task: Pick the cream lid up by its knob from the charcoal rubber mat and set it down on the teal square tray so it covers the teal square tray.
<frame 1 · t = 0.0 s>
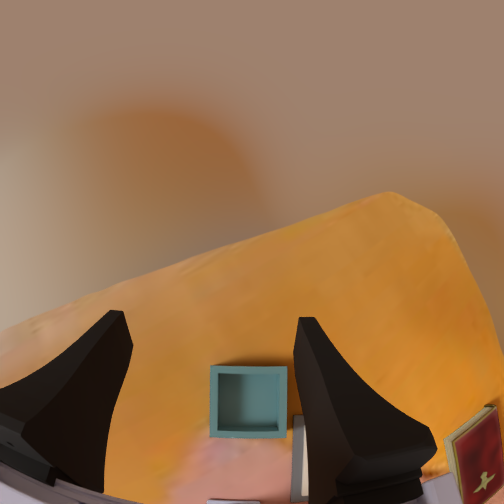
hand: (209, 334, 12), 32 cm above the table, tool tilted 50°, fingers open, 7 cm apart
lid: (342, 457, 36), resting on mat
teal square tray: (248, 399, 40), on the table
mat: (341, 456, 37), on the table
hardcover book: (470, 462, 35), on the table
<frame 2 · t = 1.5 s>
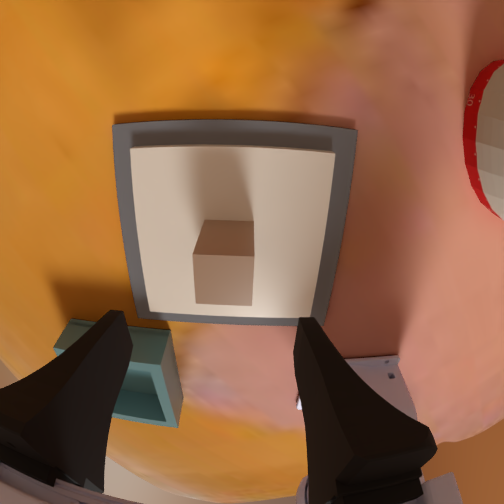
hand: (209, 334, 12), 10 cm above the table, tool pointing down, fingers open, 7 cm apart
lid: (229, 237, 20), resting on mat
teal square tray: (128, 362, 27), on the table
mat: (230, 233, 20), on the table
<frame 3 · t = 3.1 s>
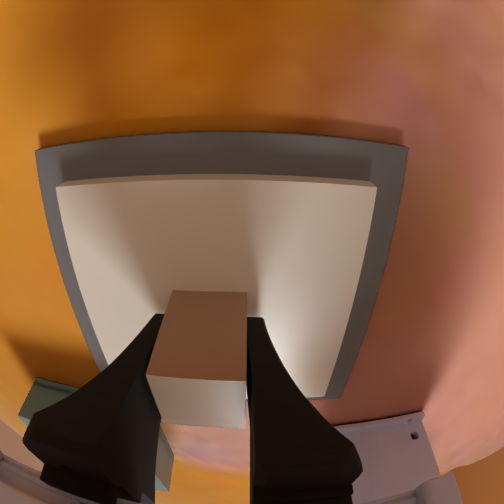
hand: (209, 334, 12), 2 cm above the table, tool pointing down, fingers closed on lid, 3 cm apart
lid: (213, 308, 14), resting on mat, touching gripper
teal square tray: (107, 423, 20), on the table
mat: (214, 301, 14), on the table
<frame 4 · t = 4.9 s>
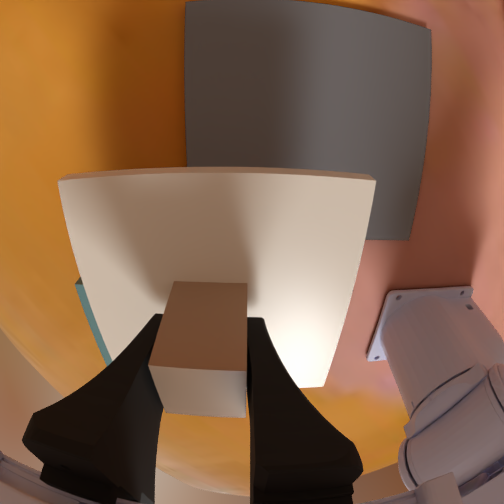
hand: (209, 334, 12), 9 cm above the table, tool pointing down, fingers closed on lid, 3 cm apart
lid: (213, 298, 14), point 7 cm above the table, touching gripper
teal square tray: (169, 310, 23), on the table
mat: (315, 120, 17), on the table
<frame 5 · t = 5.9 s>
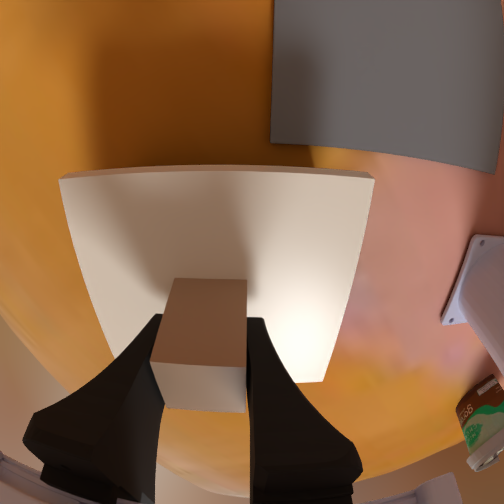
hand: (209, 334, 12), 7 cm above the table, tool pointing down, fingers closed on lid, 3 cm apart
food container: (467, 400, 29), on the table
lid: (213, 294, 14), point 4 cm above the table, touching gripper
mat: (410, 30, 11), on the table
when the fingers open (7 cm above the table, at t = 6.6 s): lid stays where it is, resting on teal square tray.
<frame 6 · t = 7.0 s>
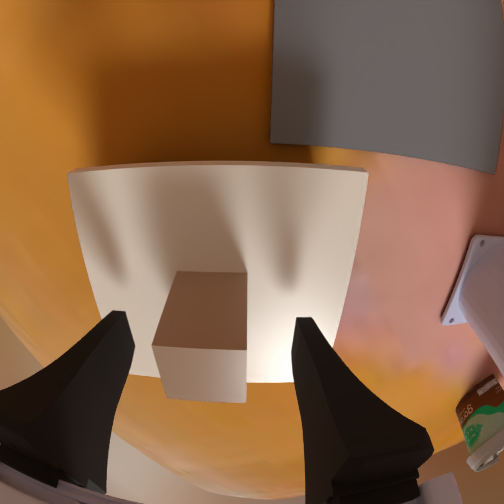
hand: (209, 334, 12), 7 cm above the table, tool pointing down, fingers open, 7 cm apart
food container: (467, 400, 29), on the table
lid: (214, 289, 14), point 4 cm above the table, touching teal square tray
mat: (410, 29, 11), on the table
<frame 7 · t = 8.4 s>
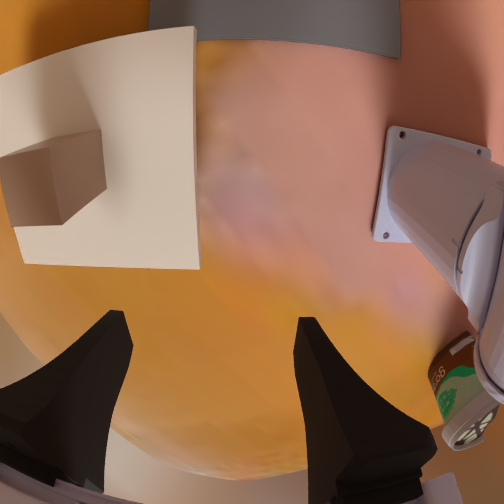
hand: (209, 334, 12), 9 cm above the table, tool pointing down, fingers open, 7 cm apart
food container: (440, 365, 29), on the table
lid: (85, 158, 14), point 4 cm above the table, touching teal square tray
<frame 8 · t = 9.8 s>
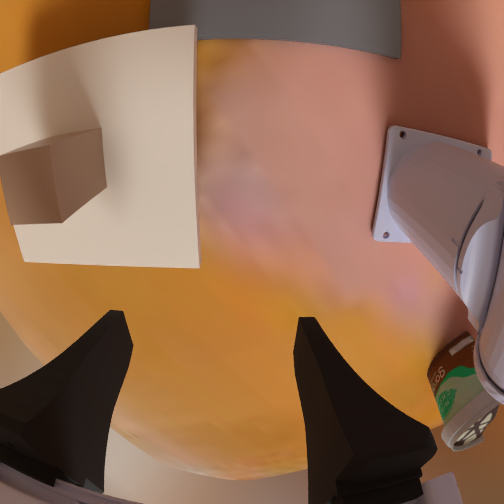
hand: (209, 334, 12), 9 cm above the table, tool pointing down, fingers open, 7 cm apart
food container: (440, 365, 29), on the table
lid: (86, 157, 14), point 4 cm above the table, touching teal square tray
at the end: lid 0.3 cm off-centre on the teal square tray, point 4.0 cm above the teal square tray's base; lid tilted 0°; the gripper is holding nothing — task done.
